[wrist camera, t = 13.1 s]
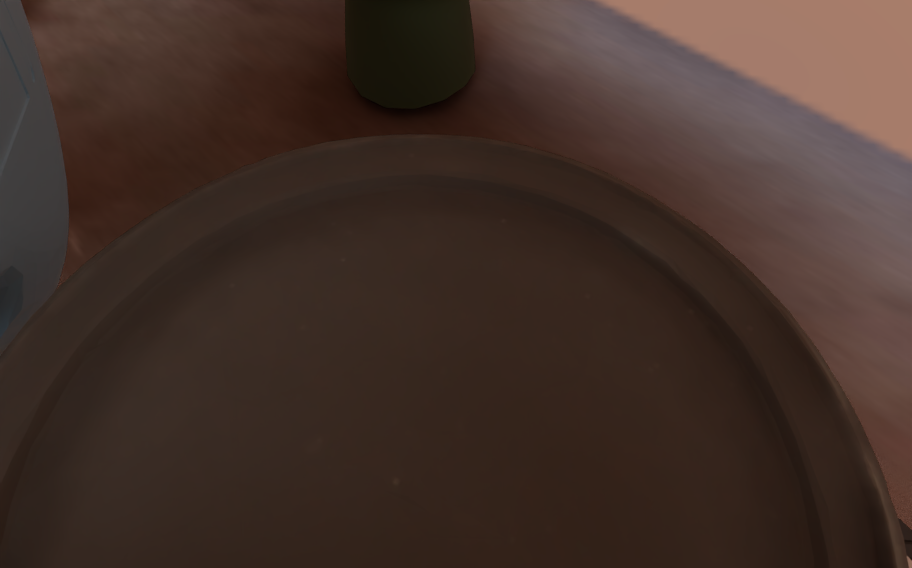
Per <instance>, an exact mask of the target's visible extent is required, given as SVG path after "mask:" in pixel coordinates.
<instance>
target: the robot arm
mask: <svg viewBox="0 0 912 568" xmlns="http://www.w3.org/2000/svg"><path fill="white" fill-rule="evenodd" d="M68 231H69V204H68V190H67V179H66V173H65V166H64V159H63V153H62V148H61V142H60V137H59V132H58V128H57V123H56V119H55V114H54V110H53V106H52V102H51V98H50V94H49V90H48V87H47V83H46V79H45V75H44V72H43V69H42V65H41V62H40V59H39V55H38V52H37V48H36V45H35V42H34V38H33V35H32V32H31V29H30V26H29V23H28V20H27V18H26V15H25V12H24V9H23V6H22V3H21V0H0V355H1V354H2V353H3V351H4V350H5V349H6V348H7V346H8V345H9V344H10V343H11V342H12V340H13V339H14V338H15V336H16V335H17V334H18V333H19V331H20V330H21V329H22V327H23V326H24V325H25V324H26V322H27V321H28V320H29V318H30V317H31V316H32V315H33V314H34V313H35V312H36V311H37V310H38V309H39V308H40V307H41V306H42V305H43V304H44V303H45V302H46V301H47V300H48V299H49V298H50V296H51V295H52V294H53V293H54V292H55V291H56V289H57V286H58V283H59V279H60V276H61V272H62V269H63V265H64V262H65V258H66V252H67V243H68ZM898 520H899V524H900V527H901V531H902V534H903V538H904V543H905V549H906V554H907V560H908V565H909V568H912V530H911V529H910V528H909V527H908V526H907V525H905V524H904V523H903V522H902V521H901V520H900V519H899V518H898Z"/></svg>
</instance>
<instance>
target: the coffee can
mask: <svg viewBox="0 0 912 568" xmlns="http://www.w3.org/2000/svg"><path fill="white" fill-rule="evenodd" d="M0 568H909V565H908V560H907V554H906V549H905V543H904V538H903V534H902V531H901V527H900V524H899V520H898V517H897V513H896V511H895V508H894V506H893V503H892V501H891V498H890V495H889V492H888V488H887V483H886V480H885V478H884V475H883V473H882V470H881V468H880V465H879V463H878V460H877V458H876V456H875V454H874V451H873V449H872V447H871V445H870V443H869V440H868V438H867V436H866V434H865V432H864V429H863V427H862V425H861V423H860V421H859V419H858V417H857V415H856V413H855V411H854V409H853V407H852V405H851V403H850V401H849V400H848V398H847V396H846V394H845V393H844V391H843V389H842V388H841V386H840V384H839V383H838V381H837V380H836V378H835V376H834V375H833V373H832V372H831V370H830V368H829V367H828V365H827V364H826V362H825V360H824V359H823V357H822V356H821V354H820V352H819V351H818V349H817V347H816V346H815V345H814V344H813V342H812V341H811V340H810V338H809V337H808V336H807V334H806V333H805V332H804V330H803V329H802V328H801V326H800V325H799V324H798V323H797V321H796V320H795V319H794V317H793V316H792V315H791V313H790V312H789V311H788V310H787V309H786V308H785V307H784V305H783V304H782V303H781V302H780V301H779V300H778V299H777V298H776V297H775V296H774V295H773V294H772V293H771V292H770V291H769V289H768V288H767V287H766V286H765V285H764V284H763V283H762V282H761V281H760V280H759V279H758V278H757V277H756V276H755V275H754V274H753V273H752V272H751V271H750V270H749V269H748V268H747V267H746V266H745V265H743V264H742V263H741V262H740V261H739V260H738V259H737V258H736V257H735V256H733V255H732V254H731V253H730V252H729V251H727V250H726V249H725V248H724V247H723V246H722V245H721V244H720V243H719V242H718V241H716V240H715V239H714V238H713V237H711V236H710V235H709V234H707V233H706V232H704V231H703V230H702V229H700V228H699V227H698V226H696V225H695V224H693V223H692V222H691V221H689V220H688V219H686V218H685V217H683V216H682V215H680V214H679V213H677V212H675V211H674V210H672V209H670V208H669V207H667V206H666V205H664V204H663V203H661V202H660V201H658V200H657V199H655V198H653V197H651V196H650V195H648V194H646V193H644V192H642V191H641V190H639V189H637V188H635V187H633V186H631V185H630V184H628V183H626V182H624V181H622V180H620V179H618V178H616V177H614V176H612V175H610V174H608V173H606V172H604V171H601V170H599V169H596V168H593V167H591V166H588V165H586V164H583V163H581V162H578V161H575V160H573V159H569V158H566V157H563V156H560V155H556V154H553V153H550V152H546V151H543V150H540V149H536V148H533V147H529V146H526V145H521V144H516V143H510V142H505V141H499V140H493V139H488V138H480V137H469V136H458V135H434V134H402V135H382V136H369V137H359V138H352V139H345V140H338V141H330V142H324V143H320V144H316V145H313V146H309V147H304V148H300V149H296V150H291V151H288V152H285V153H281V154H278V155H275V156H272V157H269V158H265V159H262V160H261V161H259V162H257V163H255V164H251V165H246V166H243V167H241V168H239V169H238V170H236V171H234V172H232V173H230V174H227V175H225V176H223V177H220V178H218V179H216V180H214V181H211V182H209V183H207V184H205V185H202V186H200V187H198V188H196V189H194V190H192V191H191V192H189V193H187V194H186V195H184V196H182V197H180V198H178V199H177V200H175V201H173V202H172V203H170V204H169V205H167V206H165V207H164V208H162V209H160V210H159V211H157V212H155V213H154V214H152V215H150V216H149V217H147V218H145V219H144V220H143V221H141V222H140V223H138V224H137V225H135V226H134V227H133V228H131V229H130V230H128V231H127V232H125V233H124V234H123V235H121V236H120V237H118V238H117V239H115V240H114V241H113V242H111V243H110V244H109V245H108V246H106V247H105V248H104V249H103V250H101V251H100V252H99V253H97V254H96V255H95V256H94V257H92V258H91V259H90V260H88V261H87V262H86V263H85V264H84V265H83V266H82V267H80V268H79V269H78V270H77V271H76V272H75V273H74V274H73V275H72V276H70V277H69V278H68V279H67V280H66V281H65V282H64V283H63V284H61V285H60V286H59V288H58V289H57V290H56V291H55V292H54V293H53V294H52V295H51V296H50V298H49V299H48V300H47V301H46V302H45V303H44V304H43V305H42V306H41V307H40V308H39V309H38V310H37V311H36V312H35V313H34V314H33V315H32V316H31V317H30V318H29V320H28V321H27V322H26V324H25V325H24V326H23V327H22V329H21V330H20V331H19V333H18V334H17V335H16V336H15V338H14V339H13V340H12V342H11V343H10V344H9V345H8V346H7V348H6V349H5V350H4V351H3V353H2V354H1V355H0Z"/></svg>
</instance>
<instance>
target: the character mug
mask: <svg viewBox="0 0 912 568" xmlns="http://www.w3.org/2000/svg"><path fill="white" fill-rule="evenodd" d="M345 39H346V58H347V74H348V77H349V79H350V80H351V81H352V83H353V84H354V86H355V87H356V89H357V90H358V92H359V93H360V95H361V96H363V97H365V98H367V99H369V100H371V101H373V102H375V103H377V104H379V105H381V106H383V107H385V108H407V109H416V108H419V107H423V106H426V105H429V104H433V103H436V102H439V101H443V100H445V99H446V98H448V97H449V96H451V95H452V94H454V93H455V92H457V91H458V90H460V89H461V88H463V87H464V86H466V84H467V83H468V81H469V79H470V78H471V76H472V75H473V73H474V72H475V55H474V38H473V29H472V21H471V13H470V5H469V0H345Z"/></svg>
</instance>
